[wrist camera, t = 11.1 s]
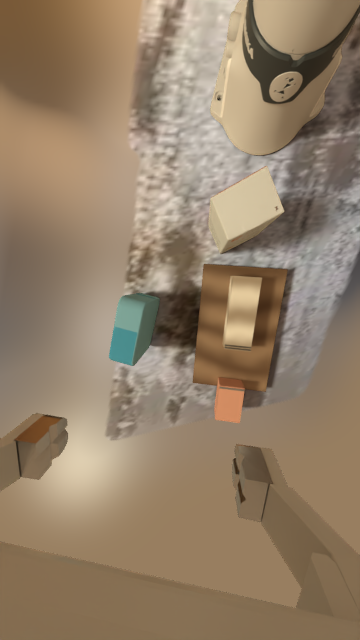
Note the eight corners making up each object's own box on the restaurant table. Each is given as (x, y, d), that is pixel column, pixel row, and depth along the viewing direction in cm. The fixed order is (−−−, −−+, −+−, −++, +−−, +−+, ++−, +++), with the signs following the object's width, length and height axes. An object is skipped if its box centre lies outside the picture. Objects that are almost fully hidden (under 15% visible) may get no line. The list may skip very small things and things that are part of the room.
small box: (245, 204, 37) (268, 163, 24) (257, 235, 38) (286, 211, 25) (206, 225, 38) (209, 197, 26) (219, 254, 39) (228, 241, 26)
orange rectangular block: (218, 377, 42) (219, 385, 39) (241, 379, 42) (245, 388, 38) (214, 408, 44) (215, 419, 40) (236, 411, 43) (239, 423, 40)
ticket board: (203, 264, 40) (204, 262, 34) (283, 270, 38) (297, 268, 33) (193, 378, 45) (191, 391, 40) (262, 386, 44) (271, 401, 38)
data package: (141, 292, 42) (118, 296, 31) (160, 297, 42) (145, 303, 30) (131, 341, 45) (107, 362, 33) (150, 346, 45) (131, 369, 33)
